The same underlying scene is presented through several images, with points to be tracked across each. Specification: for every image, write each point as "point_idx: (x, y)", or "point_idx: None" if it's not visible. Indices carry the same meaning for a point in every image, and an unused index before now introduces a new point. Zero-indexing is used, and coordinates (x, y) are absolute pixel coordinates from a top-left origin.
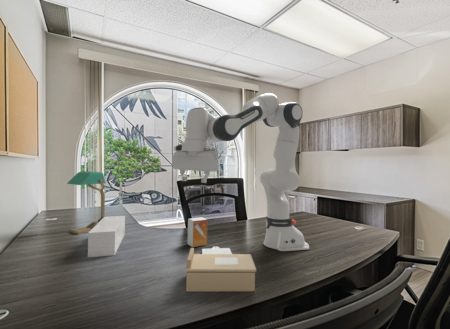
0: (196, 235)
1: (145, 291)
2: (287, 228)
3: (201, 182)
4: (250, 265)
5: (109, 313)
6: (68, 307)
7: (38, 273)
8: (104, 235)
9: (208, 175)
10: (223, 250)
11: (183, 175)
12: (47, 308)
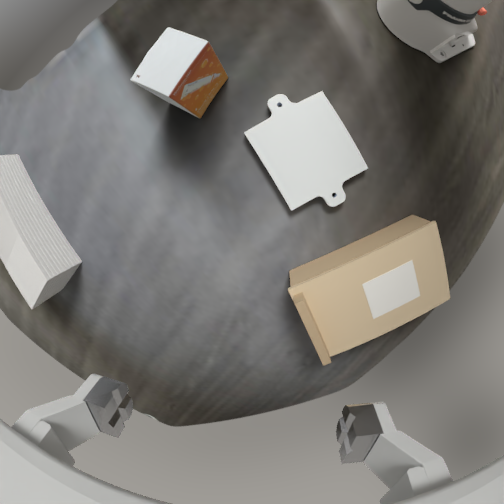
0: (196, 99)
1: (251, 357)
2: (466, 24)
3: (337, 426)
4: (441, 286)
5: (247, 402)
6: (192, 404)
7: (77, 354)
8: (45, 289)
9: (426, 453)
10: (313, 117)
11: (85, 429)
12: (174, 409)
